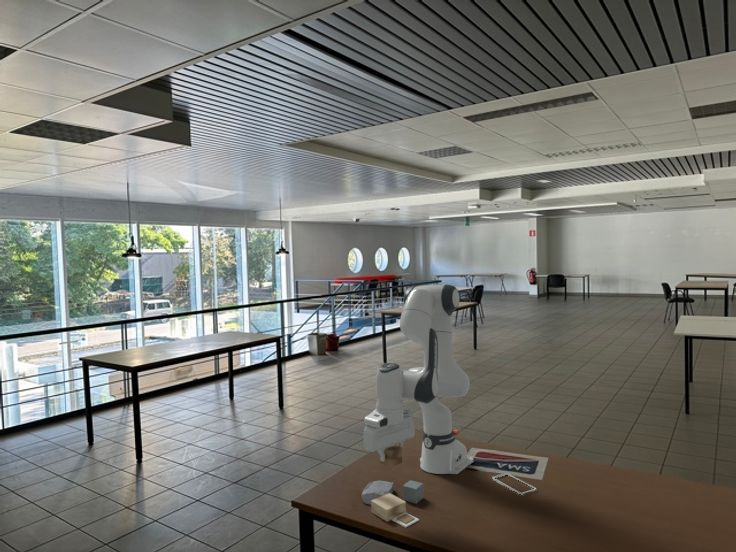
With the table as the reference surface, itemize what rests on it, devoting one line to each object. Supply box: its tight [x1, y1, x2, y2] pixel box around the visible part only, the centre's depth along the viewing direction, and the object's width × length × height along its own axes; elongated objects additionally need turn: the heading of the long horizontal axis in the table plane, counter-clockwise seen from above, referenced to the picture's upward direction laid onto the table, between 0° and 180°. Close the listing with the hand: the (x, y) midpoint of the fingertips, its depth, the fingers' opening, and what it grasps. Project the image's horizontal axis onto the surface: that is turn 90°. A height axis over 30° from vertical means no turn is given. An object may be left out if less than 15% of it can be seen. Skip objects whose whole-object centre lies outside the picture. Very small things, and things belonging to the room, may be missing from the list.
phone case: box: [491, 472, 537, 496], centre depth 174 cm, size 7×1×15 cm
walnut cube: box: [379, 444, 403, 468], centre depth 157 cm, size 5×5×5 cm
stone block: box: [361, 480, 395, 506], centre depth 169 cm, size 12×5×10 cm
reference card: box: [391, 511, 420, 528], centre depth 152 cm, size 6×6×1 cm
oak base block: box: [370, 493, 407, 523], centre depth 157 cm, size 8×8×4 cm
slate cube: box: [402, 479, 424, 504], centre depth 166 cm, size 5×5×5 cm
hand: (390, 457), depth 157 cm, fingers closed on walnut cube, 5 cm apart
